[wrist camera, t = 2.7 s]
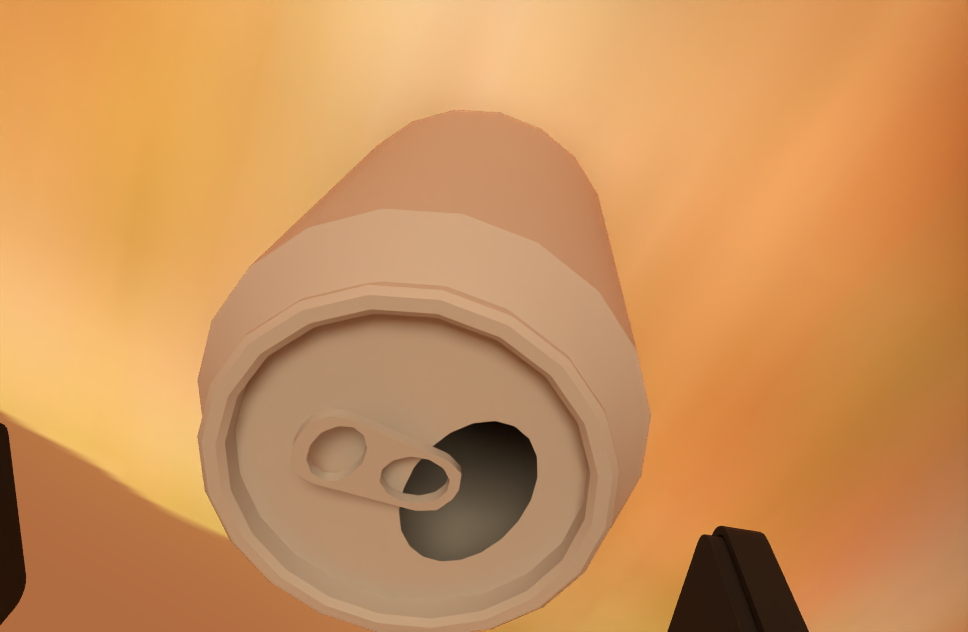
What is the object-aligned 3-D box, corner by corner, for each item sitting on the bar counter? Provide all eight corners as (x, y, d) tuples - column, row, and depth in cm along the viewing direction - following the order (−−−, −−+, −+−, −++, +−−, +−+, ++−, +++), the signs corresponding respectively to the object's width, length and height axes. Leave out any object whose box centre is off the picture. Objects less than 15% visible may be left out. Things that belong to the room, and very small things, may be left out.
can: (519, 390, 24) (496, 740, 13) (307, 276, 22) (84, 551, 12) (656, 192, 21) (781, 423, 10) (420, 51, 20) (263, 132, 9)
